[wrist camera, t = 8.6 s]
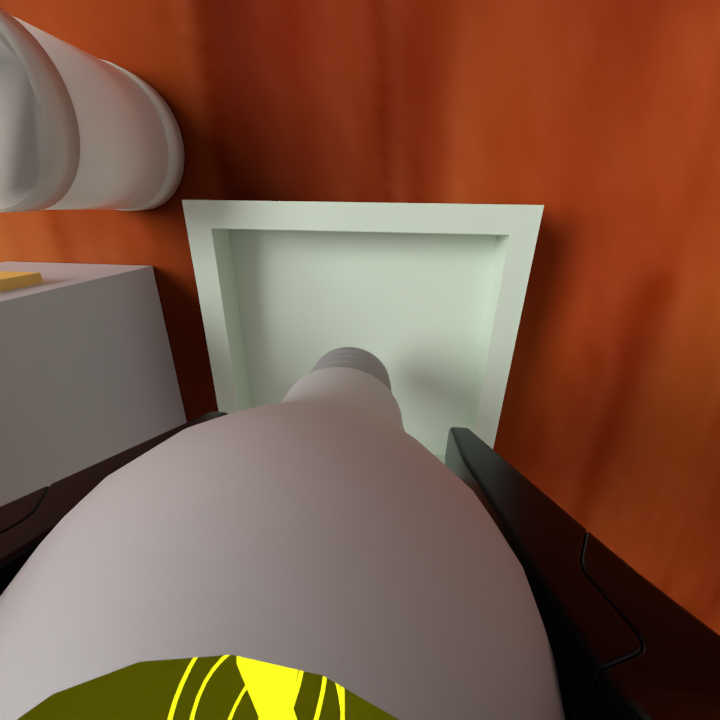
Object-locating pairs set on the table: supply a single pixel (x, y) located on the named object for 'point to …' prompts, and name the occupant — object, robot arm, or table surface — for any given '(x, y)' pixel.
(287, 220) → the tray
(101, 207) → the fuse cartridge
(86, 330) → the box
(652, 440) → the table surface
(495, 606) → the lightbulb
